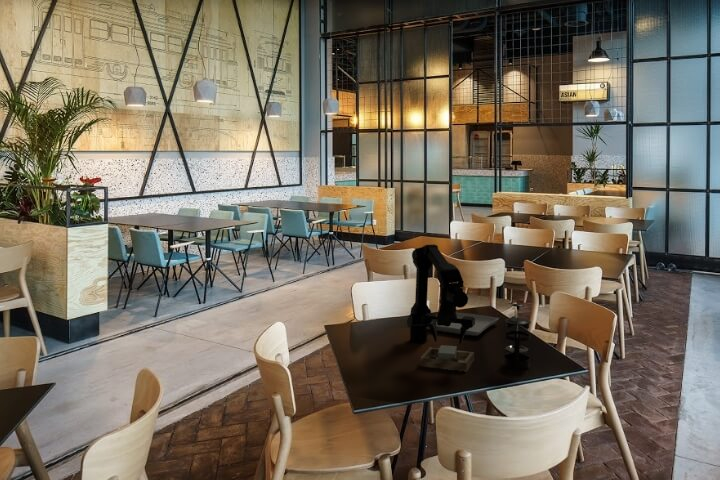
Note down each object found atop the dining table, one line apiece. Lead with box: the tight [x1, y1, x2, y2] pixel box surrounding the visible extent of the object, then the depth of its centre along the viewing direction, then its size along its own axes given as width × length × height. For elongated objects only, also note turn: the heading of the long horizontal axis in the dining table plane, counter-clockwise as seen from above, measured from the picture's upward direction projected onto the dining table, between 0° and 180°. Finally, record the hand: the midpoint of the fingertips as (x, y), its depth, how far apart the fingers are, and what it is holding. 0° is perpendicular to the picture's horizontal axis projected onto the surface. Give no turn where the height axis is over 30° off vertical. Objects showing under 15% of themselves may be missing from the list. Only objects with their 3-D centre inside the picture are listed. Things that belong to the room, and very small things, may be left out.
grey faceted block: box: [438, 344, 458, 360], centre depth 219 cm, size 6×9×4 cm, turn 167°
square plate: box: [427, 312, 499, 337], centre depth 266 cm, size 27×27×4 cm
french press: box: [502, 303, 532, 371], centre depth 215 cm, size 12×9×23 cm
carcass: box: [419, 347, 475, 373], centre depth 219 cm, size 17×13×4 cm
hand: (447, 342), depth 218 cm, fingers open, 9 cm apart
